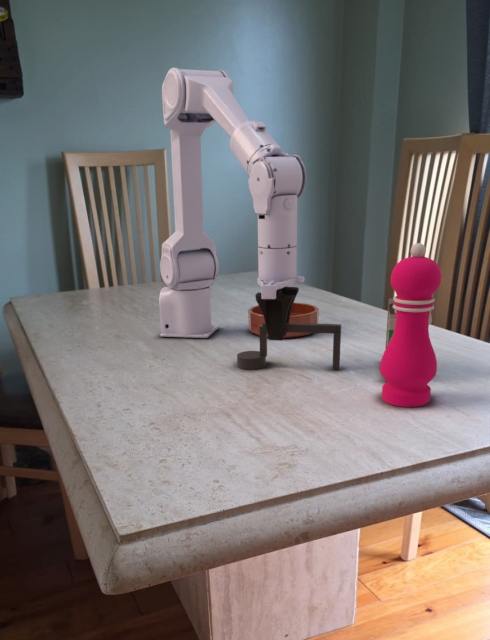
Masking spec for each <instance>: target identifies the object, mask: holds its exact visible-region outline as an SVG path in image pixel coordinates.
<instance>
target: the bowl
mask: <svg viewBox="0 0 490 640" xmlns="http://www.w3.org/2000/svg"><path fill="white" fill-rule="evenodd" d="M247 314H248V315H247V317H248V331H249V332H250V333H251V334H252V333H253V334H255V335H257V336H259V337H260V329H259V327H260V326H262V324H263V323H264V322H265V320H264V316H263V313H262V311H261V309H260V306H259V305H258V304H257V305H253V306H251V307H250V308H248V310H247ZM289 323H308V324H319V308H318V306H316V305H313V304H309V303H304V302H302V303H301V302H294V303H293V306H292V309H291V314H290V319H289ZM310 334H312V333H296V332H287V333H286V336H284V337H283V339H293V338H301V337H305V336H308V335H310ZM267 338H269V337H268V334H267Z"/></svg>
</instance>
